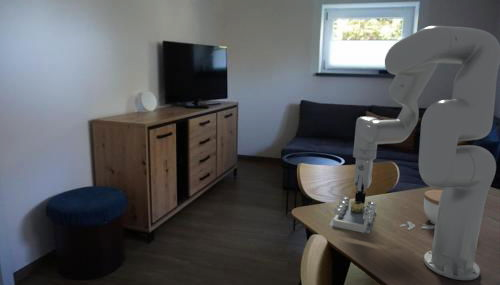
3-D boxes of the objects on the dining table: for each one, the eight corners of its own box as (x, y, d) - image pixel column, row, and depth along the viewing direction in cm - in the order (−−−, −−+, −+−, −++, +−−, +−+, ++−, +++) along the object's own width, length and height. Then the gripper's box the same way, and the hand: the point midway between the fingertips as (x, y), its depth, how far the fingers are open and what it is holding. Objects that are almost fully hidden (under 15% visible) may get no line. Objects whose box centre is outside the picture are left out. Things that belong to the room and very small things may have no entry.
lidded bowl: (470, 233, 112) (476, 199, 109) (427, 229, 114) (431, 195, 111) (455, 216, 124) (460, 186, 121) (416, 213, 126) (420, 182, 123)
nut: (361, 215, 120) (362, 206, 120) (349, 212, 122) (350, 203, 121) (363, 210, 124) (364, 202, 123) (351, 208, 126) (352, 200, 125)
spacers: (370, 226, 112) (371, 217, 112) (333, 218, 117) (334, 210, 116) (375, 210, 124) (376, 202, 124) (341, 204, 129) (342, 196, 128)
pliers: (443, 221, 117) (419, 234, 108) (442, 226, 117) (418, 238, 108) (413, 211, 124) (389, 222, 115) (413, 215, 125) (388, 226, 116)
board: (368, 236, 107) (369, 227, 107) (328, 228, 112) (329, 219, 112) (376, 212, 125) (377, 204, 125) (341, 206, 130) (342, 198, 129)
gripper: (373, 159, 116) (367, 213, 120) (378, 149, 129) (373, 198, 133) (349, 156, 119) (344, 208, 123) (357, 147, 132) (352, 194, 136)
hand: (359, 203), depth 128 cm, fingers closed
